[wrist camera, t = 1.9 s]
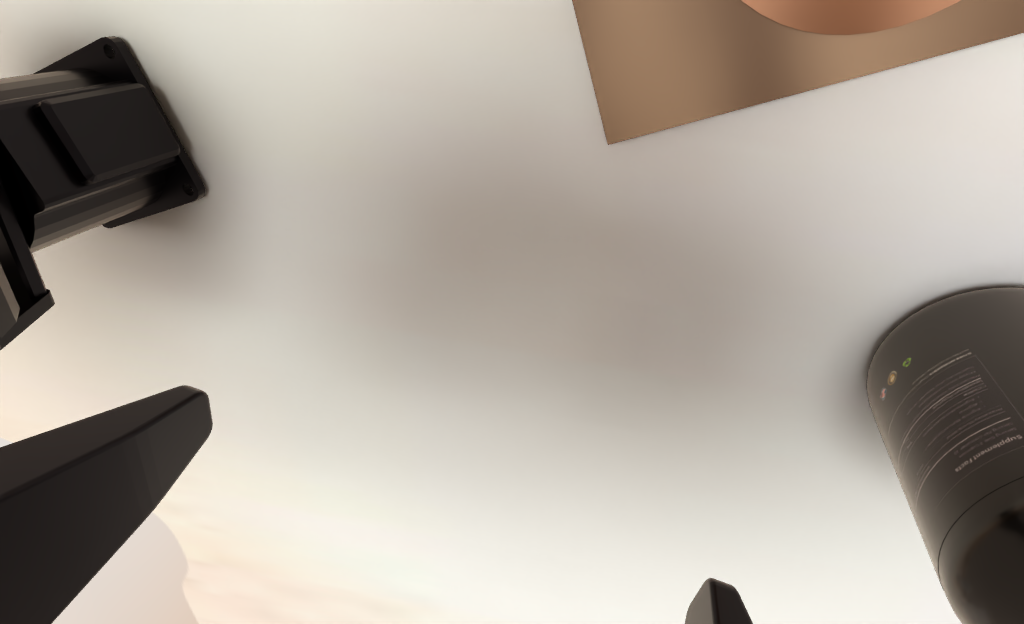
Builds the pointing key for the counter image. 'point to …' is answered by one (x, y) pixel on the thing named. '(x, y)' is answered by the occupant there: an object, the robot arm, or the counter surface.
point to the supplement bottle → (961, 443)
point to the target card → (760, 50)
